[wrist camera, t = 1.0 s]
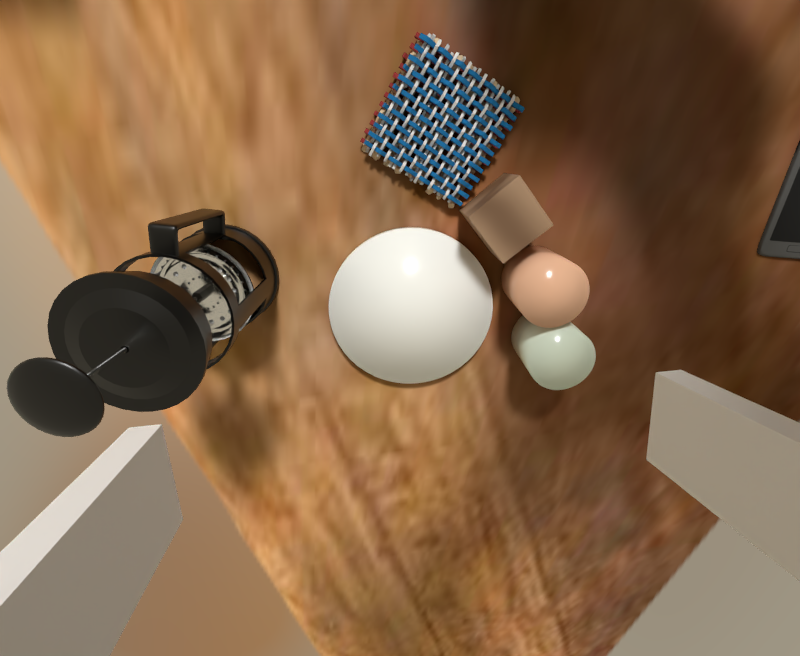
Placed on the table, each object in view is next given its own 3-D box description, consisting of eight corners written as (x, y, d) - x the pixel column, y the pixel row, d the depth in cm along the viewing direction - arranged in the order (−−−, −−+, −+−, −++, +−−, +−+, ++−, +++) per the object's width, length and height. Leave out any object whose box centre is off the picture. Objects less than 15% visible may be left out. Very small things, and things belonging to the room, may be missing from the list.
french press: (279, 330, 43) (168, 501, 21) (184, 321, 42) (-29, 489, 21) (279, 210, 38) (139, 276, 17) (173, 199, 38) (-110, 252, 16)
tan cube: (503, 173, 38) (519, 175, 33) (534, 216, 39) (553, 224, 34) (458, 210, 39) (468, 217, 34) (490, 251, 40) (503, 263, 36)
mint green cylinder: (559, 298, 42) (585, 319, 36) (576, 347, 44) (603, 375, 39) (503, 322, 43) (520, 346, 37) (521, 369, 45) (540, 399, 39)
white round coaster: (454, 197, 38) (456, 198, 37) (512, 343, 44) (515, 347, 43) (300, 270, 40) (298, 273, 39) (373, 400, 46) (373, 405, 45)
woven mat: (418, 26, 34) (420, 18, 32) (523, 103, 36) (531, 100, 34) (355, 147, 37) (353, 147, 35) (455, 211, 39) (459, 214, 37)
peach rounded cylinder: (552, 235, 40) (578, 247, 34) (569, 290, 42) (597, 311, 36) (492, 261, 41) (508, 278, 35) (512, 314, 43) (531, 338, 37)
